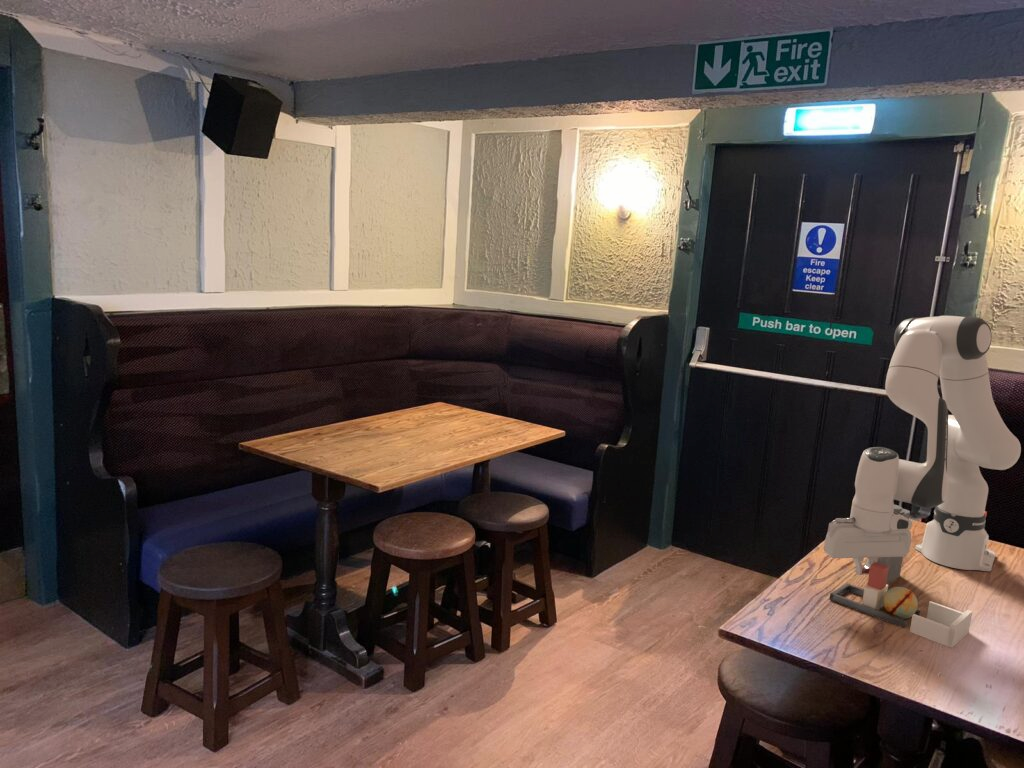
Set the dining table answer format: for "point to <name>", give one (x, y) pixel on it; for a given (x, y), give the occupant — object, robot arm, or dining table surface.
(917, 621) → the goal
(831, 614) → the dining table surface
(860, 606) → the dark grey rectangular frame
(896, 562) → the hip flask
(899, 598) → the ball
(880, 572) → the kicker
